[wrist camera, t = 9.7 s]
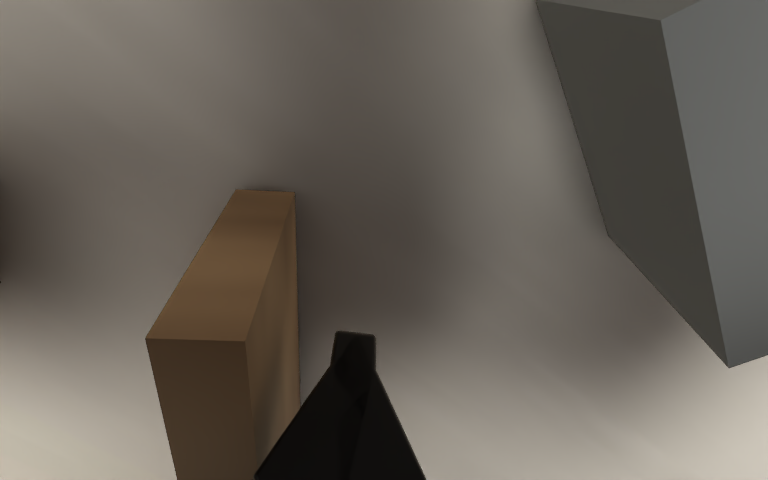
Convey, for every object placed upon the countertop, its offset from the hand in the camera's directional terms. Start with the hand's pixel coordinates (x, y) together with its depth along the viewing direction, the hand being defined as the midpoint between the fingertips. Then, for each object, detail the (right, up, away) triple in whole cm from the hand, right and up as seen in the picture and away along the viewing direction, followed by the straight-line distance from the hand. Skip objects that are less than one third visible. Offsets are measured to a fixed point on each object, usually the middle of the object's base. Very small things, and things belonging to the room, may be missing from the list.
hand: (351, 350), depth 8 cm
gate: (-2, -2, +3) cm, 4 cm away
